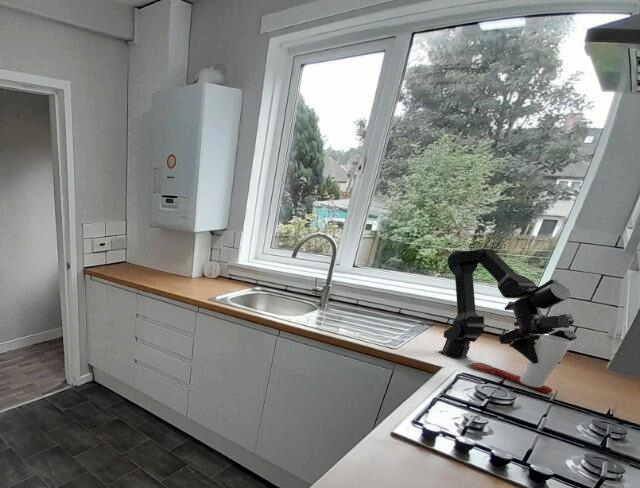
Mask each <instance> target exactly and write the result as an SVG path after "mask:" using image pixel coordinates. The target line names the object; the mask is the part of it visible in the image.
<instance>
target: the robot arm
mask: <svg viewBox="0 0 640 488" xmlns="http://www.w3.org/2000/svg"><path fill="white" fill-rule="evenodd" d="M478 264H480V265H481V266H482V267H483V268H484V269H485V270H486V271H487V272H488V273H489V274H490V275H491V276H492V277H493V278H494V280H496V283H497V289H498V291H499V293H500V295H501V296H502V297H503V298H506V299H516V300H515V301H508V303H507V305H505V306H504V308H503V309H504V311H513V314H514V317H515V320H516V321H515V322H514V323H513V325H514V328H512V329H510V330H508V331H505V332H504V333H501V334H500V335H499V338H498V340H499V343H500V345H508V347H511V348H513V349H514V350H516V351H517V352H518V353H520V354H521V355H522V356H523V357H524V358H525V359H527V361H528V360H530V361H531V362H532V363H533V364H536V363H538V358H537V354H536V351H535V347H534V346H535V343H536V341H537V340H538V339H539V337H540V335H552V336H557V337H561V338H564V339H567V340H569V341H571V342H572V341H574V340H576V339H577V338H578V336H577V334H576V332H575V331H573V330H567V329H568V328H570V326H572V325H573V324H574V322H575V320H574V318H573V316H572V314H571V313H564V314H559V315H550V316H549V315H547V314H543V313H542V310H547V309H549V308H551V307H554V306H555V305H557V304H560V303H562V302H564V301H566V300H568V299H569V298H570V297H571V291H570V289H569V288H567V287H566V286H565V285H564V284H562V283H560V282H559V280H558V279H550V280H548V281H546V282H545V283H543V284H541V285H539V286H538V285H537V284H536V283H535V281H533V280H532V279H530V278H529V277H526V276H524V275H521V274H519V273H518V272H516V271H514V269H512V268H511V267H510V266H509V265H508V264H507V263H506V262H505V261H504V260H503V259H502V258H501V257H500V256H499V255H498V254H497V252H496V250H494V249H493V248H477V249H472V250H454V251H452V252H451V254H449V255H448V257H447V265H448V268H449V271H450V272H451V274H452V275H453V276H454V278H455V279H454V280H455V295H456V308H457V315H456V316H455V318H454V320H453V321H452V326H451V327H449V328H447V329H446V330H444V331H443V339H446V340H445V343H444V345H443V347H442V350H439V351H438V353H439V354H442V355H444V356H447V357H451V358H453V359H466V358H468V353H469V350H470V344H471V342H473V343H475V342H476V341H477V340H478V339H479V338H480V337H481V335H482V334H484V330H485V328H486V326H485V325H486V324H485V317H484V316H483V315H478V314H477V311H476V299H475V287H474V286H475V285H474V273H475V271H476V269H477V268H478V266H479V265H478ZM541 309H542V310H541ZM516 327H518V328H516ZM561 328H564V329H565V330H563V329H561ZM556 329H559V330H556ZM559 364H561V361H560V362H559V363H558V365H559Z"/></svg>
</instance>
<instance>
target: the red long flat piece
mask: <svg viewBox="0 0 640 488" xmlns="http://www.w3.org/2000/svg"><path fill="white" fill-rule="evenodd" d="M470 366H471V368H472V369H474V370H476V371H479V372H483V373H490V374H491V375H495V376H498V377H502V378H504V379H507V380H509V381H513V382H515V383H517V384H520V385H523V386H526V387H528V388H531V389H533V390H536V391H539V392H541V393H544V394H550V393H552V392H553V388H552V387H550V386H548V385H545V384H543V386H542V387H540V388H535V387H530V386H527V385H525V384H523V383H521V382H520V377H521V376H520V375H518V374H514V373H512V372H509V371H506V370H504V369H501V368H498V367H494V366H492V365H491V364H486V363H483V362H472V363H471V365H470Z"/></svg>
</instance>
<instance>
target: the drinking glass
mask: <svg viewBox="0 0 640 488" xmlns="http://www.w3.org/2000/svg"><path fill="white" fill-rule="evenodd" d="M571 345H572V340H571V341H569V340H567V339H564V338H561V337H557V336H552V335H540V337H539V339H538V340H536V341H535V343H534V347H535V351H536V354H537V358H538V363H536V364H533V363H532V362H531V361H530V360H528V359H527V362H526V365H525V366H524V369H523V370H522V371H523V372H522V374H521V376H520V382H521V383H523V384H525V385H527V386H526V387H528V386H530V387H529V388H531V387H535V388H540V387H542V386H543V385H545V383H546V381H547V380H548V378H549V377H550V375H551V374H552V373H553V372H554V370H555V369H556V367H557V366H558V365H559V364H558V363H559V362H560V363H561V360H562V359H563V358H564V356H565V355H566V353H567V352H568V350H569V348H570V346H571ZM523 384H522V385H523ZM525 385H524V386H525Z"/></svg>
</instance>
